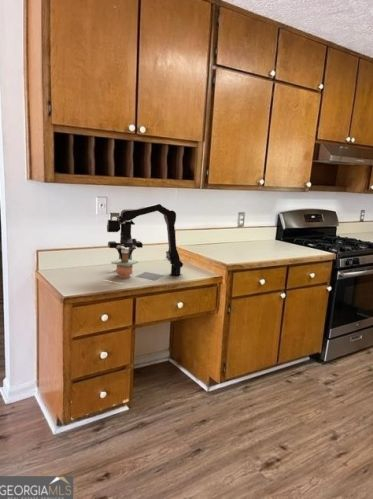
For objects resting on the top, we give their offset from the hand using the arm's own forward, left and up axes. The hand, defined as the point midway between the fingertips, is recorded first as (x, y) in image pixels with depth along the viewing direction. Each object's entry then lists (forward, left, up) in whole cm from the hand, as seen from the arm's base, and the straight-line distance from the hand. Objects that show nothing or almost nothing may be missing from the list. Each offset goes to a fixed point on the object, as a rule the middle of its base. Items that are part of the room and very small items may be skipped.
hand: (124, 259), depth 213 cm
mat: (-9, +12, -10) cm, 18 cm away
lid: (0, 0, -2) cm, 2 cm away
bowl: (0, 0, -10) cm, 11 cm away
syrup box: (-14, -8, -11) cm, 19 cm away
